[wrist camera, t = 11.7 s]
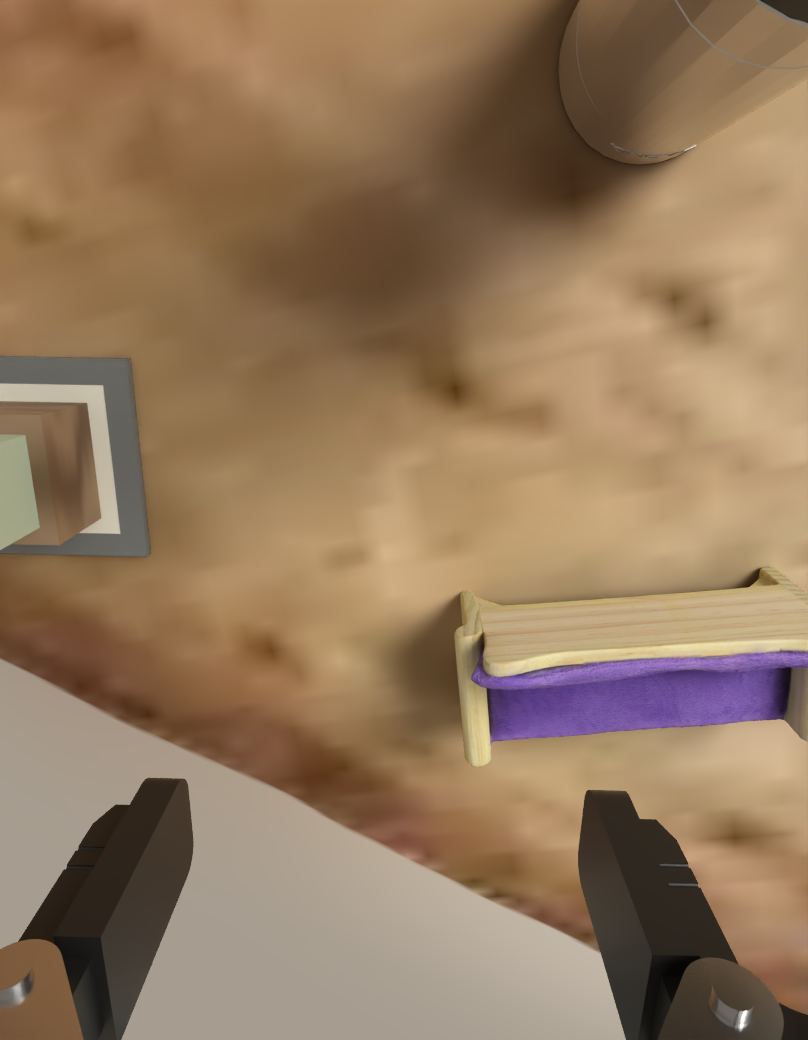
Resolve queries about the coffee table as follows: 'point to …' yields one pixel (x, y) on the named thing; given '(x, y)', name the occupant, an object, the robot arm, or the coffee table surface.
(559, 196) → the coffee table surface
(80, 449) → the walnut base block
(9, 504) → the sage cube
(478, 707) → the toy sofa
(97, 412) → the mat
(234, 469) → the coffee table surface
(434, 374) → the coffee table surface
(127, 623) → the coffee table surface
